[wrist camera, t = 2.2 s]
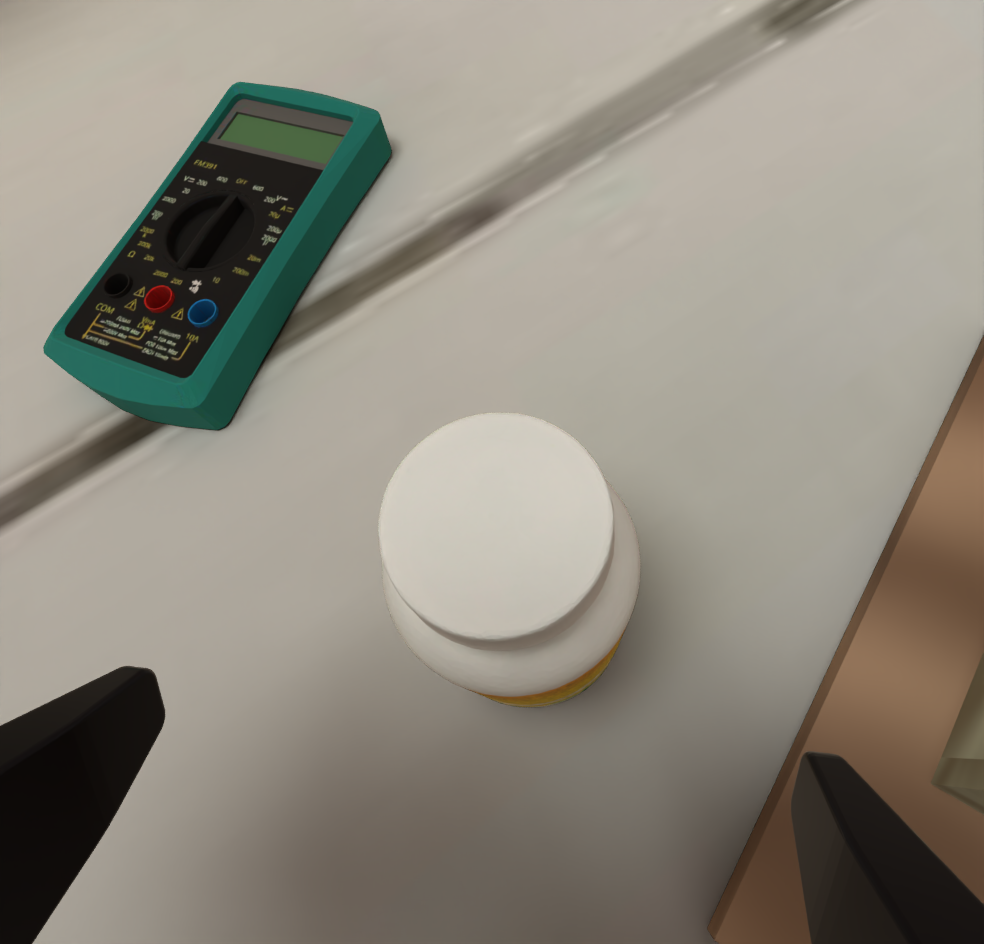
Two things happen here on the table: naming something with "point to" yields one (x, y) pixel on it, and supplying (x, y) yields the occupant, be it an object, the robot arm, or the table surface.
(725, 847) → the table surface
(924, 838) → the bottle holder
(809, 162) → the table surface
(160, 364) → the digital multimeter
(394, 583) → the supplement bottle
